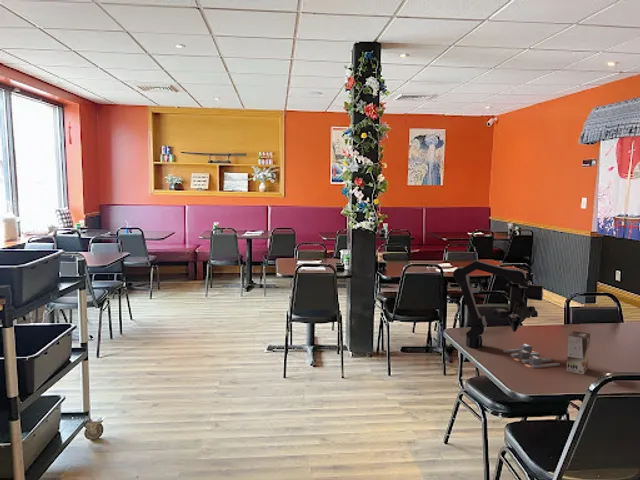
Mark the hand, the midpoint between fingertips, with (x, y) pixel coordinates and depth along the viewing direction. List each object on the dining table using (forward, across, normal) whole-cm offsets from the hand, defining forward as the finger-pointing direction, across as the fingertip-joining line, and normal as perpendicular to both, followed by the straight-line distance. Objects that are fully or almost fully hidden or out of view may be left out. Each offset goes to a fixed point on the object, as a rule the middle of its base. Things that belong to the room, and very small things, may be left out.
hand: (514, 331), depth 208 cm
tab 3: (+10, 0, -16) cm, 19 cm away
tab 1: (+10, +6, -1) cm, 11 cm away
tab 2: (+10, 0, -9) cm, 13 cm away
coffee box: (+11, +14, -23) cm, 29 cm away
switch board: (+11, +3, -8) cm, 14 cm away
